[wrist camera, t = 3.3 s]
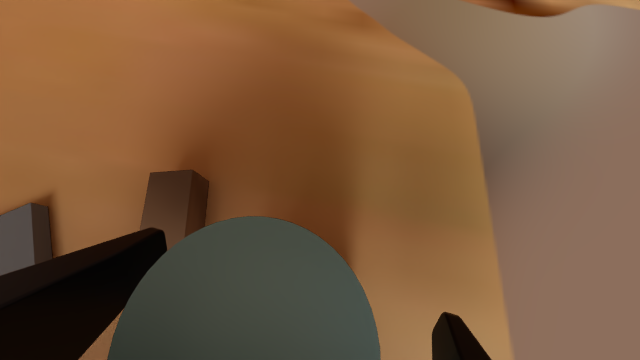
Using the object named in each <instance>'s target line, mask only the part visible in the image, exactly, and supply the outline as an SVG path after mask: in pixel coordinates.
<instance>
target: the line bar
mask: <svg viewBox="0 0 640 360" xmlns="http://www.w3.org/2000/svg"><path fill="white" fill-rule="evenodd" d="M208 185H209V181H208V180H206V179H205V178H204V177H202V176H201V175H199V174H198V173H197V172H195V171H194V170H181V171H167V172H154V173H150V177H149V182H148V188H147V193H146V199H145V204H144V210H143V215H142V221H141V226H140V230H144V229H147V228H150V227H154V228H157V229H161V230H163V231H164V232H165V237H166V243H167V251H168V250H169V249H170V248H172V247H173V246H174V245H175V244H177V243H178V242H180V241H181V240H182V239H184V238H185V237H187V236H188V235H190V234H192V233H194V232H196V231H198V230H200V229H201V228H203V227H204V226H205V215H206V205H207V195H208Z"/></svg>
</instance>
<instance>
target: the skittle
mask: <svg viewBox="0 0 640 360" xmlns="http://www.w3.org/2000/svg"><path fill="white" fill-rule="evenodd" d="M107 360H380V346H379V339H378V333H377V327H376V324H375V320H374V317H373V313H372V309H371V307H370V304H369V302H368V299H367V297H366V294H365V292H364V290H363V288H362V286H361V284H360V283H359V281H358V279H357V277H356V275H355V274H354V272H353V271H352V270H351V268H350V267H349V266H348V264H347V263H346V262H345V260H344V259H343V258H342V257H341V256H340V255H339V254H338V253H337V252H336V251H335V250H334V248H333V247H331V246H330V245H329V244H328V243H326V242H325V241H324V240H323V239H321V238H320V237H319V236H317V235H315V234H314V233H312V232H310V231H309V230H307V229H305V228H303V227H301V226H298V225H296V224H294V223H291V222H288V221H284V220H281V219H276V218H270V217H260V216H247V217H238V218H231V219H228V220H224V221H220V222H216V223H214V224H211V225H209V226H206V227H203V228H201V229H200V230H198V231H196V232H194V233H192V234H190V235H188V236H187V237H185V238H184V239H182V240H181V241H180V242H178V243H177V244H175V245H174V246H173V247H172V248H170V249H169V250H168V251H167V252H166V253H165V254H164V255H162V256H161V257H160V258H159V259H158V261H157V262H156V263H155V264H154V265H153V266H152V267H151V268H150V269H149V270H148V272H147V273H146V274H145V276H144V277H143V278H142V280H141V281H140V282H139V284H138V285H137V287H136V288H135V290H134V292H133V293H132V295H131V297H130V298H129V300H128V302H127V304H126V306H125V308H124V310H123V312H122V314H121V316H120V319H119V322H118V324H117V327H116V330H115V333H114V335H113V339H112V343H111V347H110V350H109V354H108V359H107Z"/></svg>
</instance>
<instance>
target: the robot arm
mask: <svg viewBox="0 0 640 360" xmlns="http://www.w3.org/2000/svg"><path fill="white" fill-rule="evenodd" d="M166 252H167V243H166V237H165V232H164V231H163V230H161V229H157V228H154V227H150V228H147V229H144V230H140V231H137V232H134V233H131V234H128V235H125V236H122V237H119V238H116V239H112V240H109V241H106V242H103V243H100V244H97V245H94V246H91V247H88V248H84V249H81V250H78V251H75V252H72V253H69V254H66V255H63V256H60V257H56V258H53V259H50V260H47V261H44V262H41V263H38V264H35V265H32V266H28V267H25V268H22V269H19V270H16V271H13V272H10V273H7V274H4V275H0V360H78V359H79V358H80V357H81V356H82V355H83V354H84V353H85V351H86V350H87V349H88V348H89V347H90V346H91V345H92V344H93V343H94V341H95V340H96V339H97V338H98V337H99V336H100V335H101V334H102V332H103V331H104V330H105V329H106V328H107V327H108V326H109V325H110V324H111V322H112V321H113V320H114V319H115V318H116V317H117V316H118V315H119V313H120V312H121V311H122V310H123V309H124V308H125V306H126V304H127V302H128V300H129V298H130V297H131V295H132V293H133V292H134V290H135V288H136V287H137V285H138V284H139V282H140V281H141V280H142V278H143V277H144V276H145V274H146V273H147V272H148V270H149V269H150V268H151V267H152V266H153V265H154V264H155V263H156V262H157V261H158V259H159V258H160V257H161V256H162V255H164V254H165V253H166ZM432 360H491V358H490V357H489V356H488V354H487V353H486V352H485V350H484V349H483V347H482V346H481V345H480V343H479V342H478V341H477V339H476V338H475V337H474V335H473V334H472V333H471V331H470V330H469V328H468V327H467V326H466V324H465V323H464V322H463V320H462V319H461V318H460V317H459V316H457V315H454V314H451V313H448V312H443V313H442V314H441V316H440V317H439V319H438V321H437V323H436V325H435V327H434V329H433V332H432Z"/></svg>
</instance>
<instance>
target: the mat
mask: <svg viewBox="0 0 640 360" xmlns="http://www.w3.org/2000/svg"><path fill="white" fill-rule="evenodd" d="M50 259H52V249H51V238H50V226H49V215H48V207H47V206H43V205H38V204H34V203H29V204H26V205H24V206H22V207H19V208H17V209H15V210H12V211H10V212H8V213H5V214H3V215H0V275H4V274H7V273H10V272H13V271H16V270H19V269H22V268H25V267H28V266H32V265H35V264H38V263H41V262H44V261H47V260H50Z"/></svg>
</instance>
